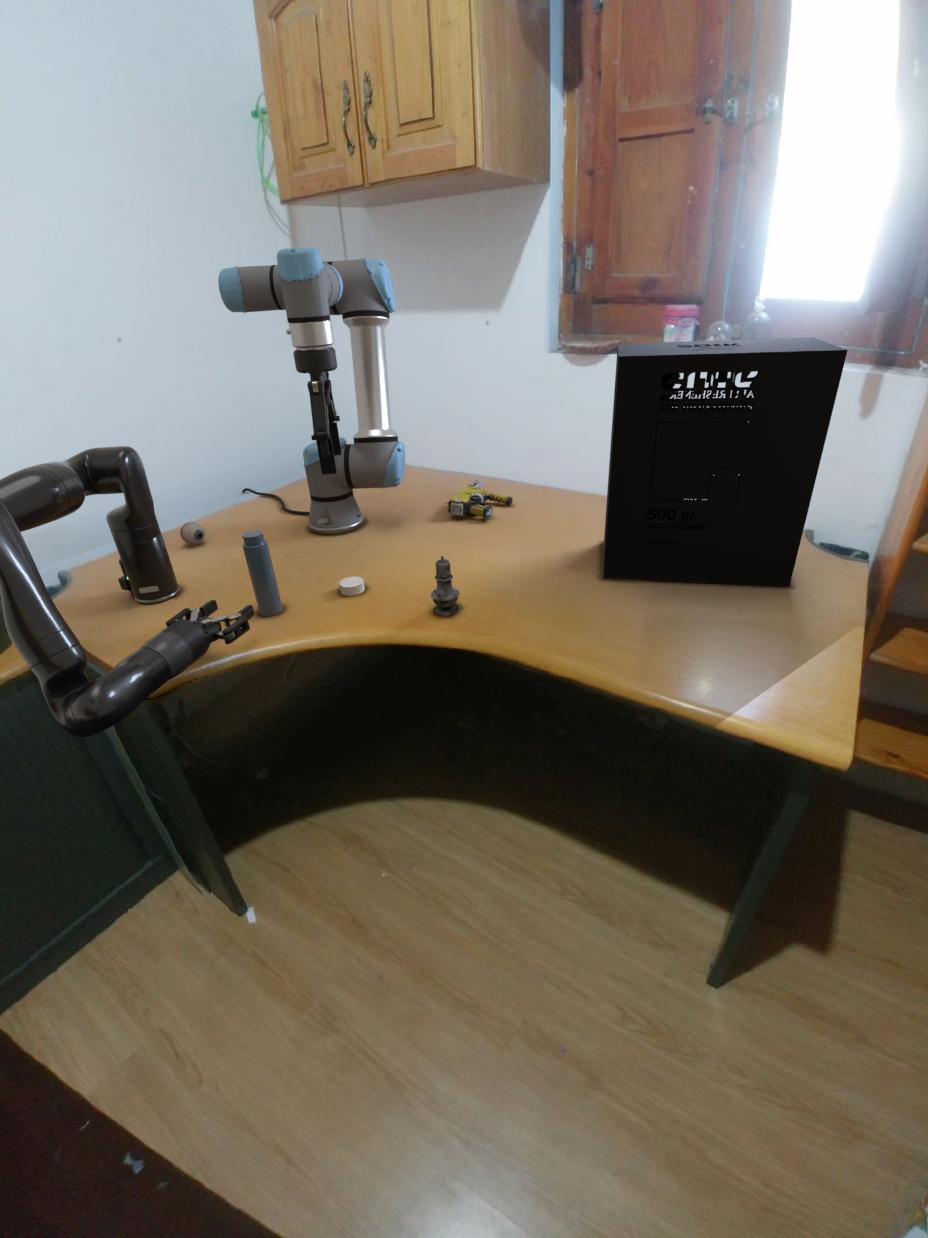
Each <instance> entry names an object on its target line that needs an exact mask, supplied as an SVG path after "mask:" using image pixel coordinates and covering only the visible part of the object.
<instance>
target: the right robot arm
mask: <svg viewBox="0 0 928 1238" xmlns="http://www.w3.org/2000/svg"><path fill="white" fill-rule="evenodd" d="M276 263H277V264H272V265H271V264H269V265H250V266H236V265H235V266H233V267H225V268H223V269H221V270H220V272H219V274H218V278H217V283H218V285H217V286H218V290H219V294H220V298H221V301H222V304H223V305H224V307H225V308H226V309H227V310H229V311H230V312H232V313H244V314H245V313H255V312H256V313H257V312H269V311H270V312H271V311H285V313H286V320H287V324H288V327H289V328H286V331H285V333H286V335H290V340H291V346H292V347H293V348H295V350H293V352H292V355H293V361H294V366H295V371H296V372H297V373H299V374H309V379H310V380H309V381H307V384H306V385H307V390H308V394H309V402H310V413H311V420H312V430H313V431H312V432H313V433H312V435H311V436H310V437H311V441H314V442H312V443H309V444H308V445H306V446H305V447H304V448H303V450H302V457H303V467H304V471H305V477H306V481H307V486H308V492H309V498H310V507H309V511H303V510H302V511H300V510H293V509H289V508H287V507H286V505H285V502H284V501H283V500H282V498H281V497H280V496H278V495H276V494H273V493H267V492H260V491H256V490H253V489H251V488H248V487H246V488H243V489H242V491H241V493H242V494H245V493H246V492H250V493H252V494H254V495H257V496H264V497H271V498H275V499H277V500H278V501H279V503H280V504H281V507H282V510H283V511H285V512H286V513H290V514H294V515H295V514H296V515H306V516H307V515H308V521H307V524H308V528H309V529H308V530H310V531H311V532H312V533H314V534H317V535H323V536H324V535H325V536H327V535H329V536H331V535H339V534H340V535H341V534H345V533H350V532H353V531H355V530H357V529H359V528H361V527H362V526H363V525H364V523H365V519H364V514H363V512H362V510H361V508H360V505H359V504H358V501H357V500H356V498H355V495H354V490H357V489H360V490H361V489H386V488H396V487H398V486H400V485H401V484H402V481H403V479H404V475H405V466H406V446H405V443H404V442H403V441H401V440H399V435H398V433H397V432H395V430H394V429H393V428H392V417H391V405H390V402H391V401H390V390H389V389H390V388H389V377H388V376H389V375H388V360H387V350H386V348H387V347H386V333H385V329H386V327H387V325H389V323H390V322H391V318H390V316H391V315H390V314H393V313H394V312H395V311H396V309H397V308H396V297H395V290H394V287H393V282H392V278H391V275H390V271H389V269H388V265H387V264H386V263H385V262H384V261H383V259H380V258H367V257H364V258H358V259H357V258H356V259H345V260H343V259H342V260H330V261H329V260H327V261H323V259H322V253H321V251H320V250H319V249H318V248H317V247H289V248H282V249H280V250H278V251H277V252H276ZM331 316H342V323H343V324H344V325H345V327H347V328H348V329H349V337H350V338H349V339H350V347H351V348H350V349H351V359H352V372H353V381H354V382H353V383H354V392H355V393H354V396H355V404H356V416H357V427H358V429H357V431H356V433H355V434H354V435H353V438H352V439H353V443H347V440H346V439H345V438H344V437H340V435H339V433H340V432H339V429H338V428H339V427H338V422H340V421H341V417H340V415H338V413H337V410H336V406H335V401H334V396H333V391H332V380H331V379H330V373H329V372H332V371H333V372H334V371H335V370H337V368H338V359H337V354H336V349H335V348H334V347H333V346H332V345H334V344H335V337H334V331H333V325H332V324H333V323H332V319H331Z"/></svg>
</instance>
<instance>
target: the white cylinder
mask: <svg viewBox="0 0 928 1238" xmlns="http://www.w3.org/2000/svg"><path fill="white" fill-rule="evenodd" d="M338 584H339V591H340V594H341V595H343V596H347V597H353V596H357V595H360V594H363V592H364V591H365V590H366V589H365V583H364V578H363V577H361V576H355V575H353V576H348V577H347V576H346V577H344V578H342V579H341V580H339V582H338Z"/></svg>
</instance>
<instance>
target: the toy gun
mask: <svg viewBox="0 0 928 1238" xmlns="http://www.w3.org/2000/svg"><path fill="white" fill-rule="evenodd" d="M485 485H486V483H485V480H480V481H479V479H475V480H474V481H472V483H470V484H467V486H465V487H464V488H463V489H462V490H461V491H459V492H458V493H456V494H455V495H454V496H453V497H452V498H451V499H450V500H448V502H447V513H448V514H449V515H451V516H452V517H456V518H458V517H467V516H472V515H473V516H479V517H482V520H484V521H486V520H487V519H489V518H491V517H492V516H493V515H492V514H493V505H492V504H488V505H486V503H485V502H486V501H488V500H489V501H490V502H494V503H496V502H497V503H499V504H504V505H507V506H508V507H509V506H512V505H513V502H514V501H513V500H514V498H513V497H512V496H508V495H507V496H506V495H502V494H498V493H494V492H490V493H489V494H487V492H486V490H485V488H483V487H484V486H485Z"/></svg>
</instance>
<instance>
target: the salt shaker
mask: <svg viewBox="0 0 928 1238" xmlns="http://www.w3.org/2000/svg"><path fill="white" fill-rule="evenodd" d="M453 578H454V576H453V574H452V572H451V562H450V560H448V559H446V558H445V556H444V555H441V556H440V559H438V560H436V561H435V576H434V579H435V580H436V588H435V589H434V590H432V591H431V592H430V598H431V599H432V602H433V603H434V605H435V606H434V607H433V613H434V614H436V615H438V616H452V615H455V614H456V613H458V612H459V610H460V606H459V605H458V604H457V602H458V600H459V596H460V594H461V593H460V591H459V589H457V588H456V587H453V581H452V579H453Z"/></svg>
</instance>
